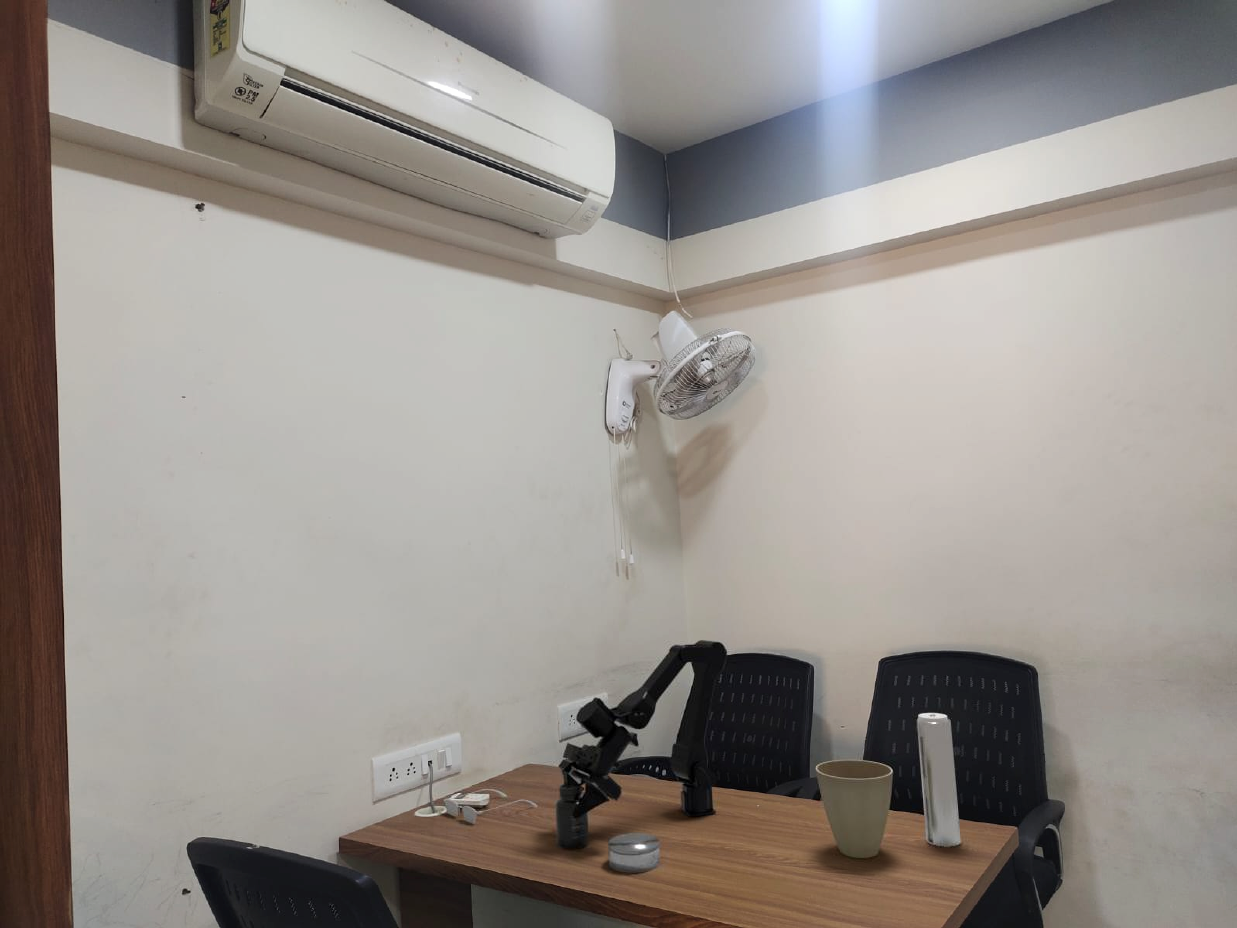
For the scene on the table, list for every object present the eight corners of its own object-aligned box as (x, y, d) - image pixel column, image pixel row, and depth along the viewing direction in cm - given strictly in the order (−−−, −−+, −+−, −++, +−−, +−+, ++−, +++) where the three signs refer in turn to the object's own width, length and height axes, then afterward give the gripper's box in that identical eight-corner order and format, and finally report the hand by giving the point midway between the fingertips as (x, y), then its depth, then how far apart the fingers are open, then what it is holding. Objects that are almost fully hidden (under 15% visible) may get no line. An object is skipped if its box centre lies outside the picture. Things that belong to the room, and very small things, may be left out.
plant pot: (894, 869, 154) (887, 781, 156) (814, 860, 160) (808, 775, 162) (903, 842, 168) (896, 761, 169) (829, 834, 174) (823, 756, 175)
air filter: (963, 847, 163) (952, 717, 166) (929, 846, 165) (918, 718, 167) (957, 836, 170) (946, 711, 172) (924, 835, 171) (914, 711, 173)
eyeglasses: (442, 814, 201) (442, 797, 202) (504, 797, 213) (504, 780, 214) (477, 828, 190) (476, 810, 190) (540, 808, 202) (540, 791, 202)
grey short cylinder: (650, 850, 170) (649, 830, 170) (667, 867, 160) (665, 846, 160) (603, 857, 167) (602, 837, 167) (617, 875, 157) (616, 853, 158)
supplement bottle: (591, 838, 178) (589, 780, 179) (586, 850, 171) (584, 790, 173) (559, 838, 179) (557, 781, 180) (554, 850, 172) (552, 790, 173)
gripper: (564, 721, 187) (521, 781, 181) (606, 735, 172) (561, 801, 165) (595, 751, 191) (555, 810, 184) (640, 767, 175) (597, 833, 168)
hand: (565, 813), depth 175 cm, fingers closed on supplement bottle, 7 cm apart
